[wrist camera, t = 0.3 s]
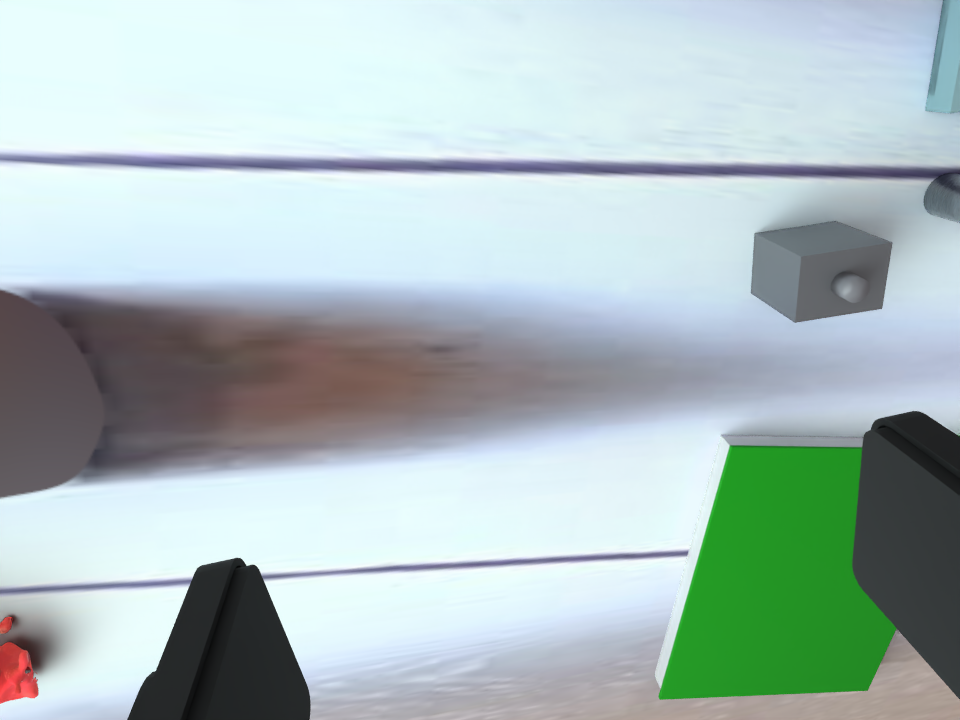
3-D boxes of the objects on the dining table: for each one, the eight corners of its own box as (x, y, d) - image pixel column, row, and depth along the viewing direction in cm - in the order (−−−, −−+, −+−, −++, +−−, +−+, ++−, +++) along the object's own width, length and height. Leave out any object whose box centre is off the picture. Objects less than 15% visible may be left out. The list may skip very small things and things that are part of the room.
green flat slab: (648, 673, 65) (659, 699, 63) (714, 427, 54) (731, 447, 51) (853, 665, 69) (872, 690, 66) (957, 432, 57) (985, 451, 54)
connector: (754, 233, 47) (814, 263, 40) (834, 220, 47) (909, 248, 40) (750, 292, 49) (808, 331, 42) (828, 280, 49) (897, 316, 42)
